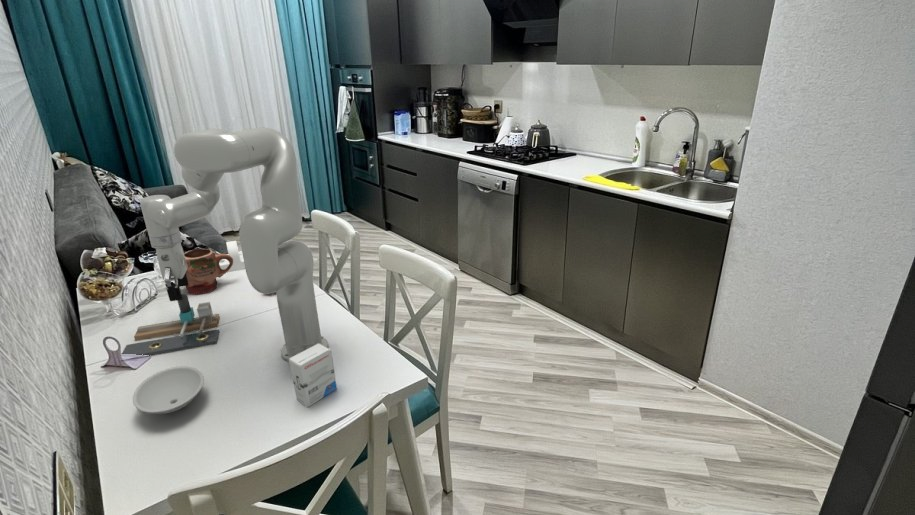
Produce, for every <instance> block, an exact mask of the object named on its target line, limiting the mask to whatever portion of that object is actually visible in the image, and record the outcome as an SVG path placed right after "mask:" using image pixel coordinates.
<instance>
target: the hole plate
mask: <svg viewBox="0 0 915 515" xmlns="http://www.w3.org/2000/svg"><path fill="white" fill-rule="evenodd" d="M202 333H203V335H202V336H201V335H200V332H195V333H188V334H183V337H184V339H181V336H180V335H176V336H171V337H163V338H159V339H154V340H147V341H142V342H135V343H131V344H126V346H125V347H124V348H123V351H122V352H121V354H136V355H142V354H143V355H149V356H148V357H152V356H157V354H158V355H163V354H169V353H174V352H179V351H180V352H181V351H185V350H191V349H196V348H202V347H207V346H213V345H217V344H218V340H219V336H220V333H221V332H220V329H219V328H218V329H211V330H207V331H202ZM162 353H163V354H162ZM150 355H151V356H150Z"/></svg>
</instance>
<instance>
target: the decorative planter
mask: <svg viewBox="0 0 915 515" xmlns="http://www.w3.org/2000/svg"><path fill="white" fill-rule="evenodd" d="M184 255H185V258H186V262H187V265H188V268H187V270H186V276H187V280H188V286H185V290H186V292H187V293H188V294H191V295H203V294H208V293H211V292H213V291H215V290H216V288H217V287H218V281H217V278H222V277H223V276H224V275H226V274H228V273H229V272H228V271H229V269H230V268H231V266H232V265H233V259H232V257H231V256H230V255H229V254H227V253H218V254H216V253H215V252H214V251H213V250H212V249H209V248H194V249H192V250H188V251H185V252H184ZM222 259H227V260H228V261H229V263H230V264H229V266H228V267H227V268H226V269H224V270H223V269H221V268H220V265H219V262H220V260H222ZM227 272H228V273H227Z"/></svg>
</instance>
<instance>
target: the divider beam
mask: <svg viewBox="0 0 915 515" xmlns="http://www.w3.org/2000/svg"><path fill="white" fill-rule="evenodd" d="M196 311H197V314H198V315H197V317H194V319H193V321H191V322H188V323H187V325H186V328H185V331H184V333H190V332H196V331H199V332H200V335H201V336H202V335H203V333H202V332H203V330H207V329H216V328H218V327H219V324H220V319H221V316H220V313H215V314H214V313H213V308H212V305H211V302H210V301H207V302H200V303H198V305H197V309H196ZM183 325H184V323H181V320H180V319H179V320H172V321H166V322H165V321H164V322H160V323H153V324H148V325H146V324H145V325H141V326H138V327H137V328H136V329H137V330H136V332H135V334H134V336H133V338H134V341H135V342H138V341H143V340H149V339H150V340H151V339H154V338H160V337H167V336H173V335H178V334H179V335H180V332H181V330H182V327H183ZM199 332H198V333H199ZM184 333H183V334H184Z"/></svg>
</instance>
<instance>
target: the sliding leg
mask: <svg viewBox="0 0 915 515" xmlns="http://www.w3.org/2000/svg"><path fill="white" fill-rule="evenodd" d="M181 294H182V300H177V305H178V307H179V311H180V312H179V314H178V317H179V320H181V323H184V325H183V327H182V330H181V332H180V333H179V336H181V339H184V337H183V335H184V331H185V328H186V325H187V323H188V322H191V321H193V319H194V318H195V311H194V307H192V306H191V304H190V300H189V297H188V294H186V293H181Z"/></svg>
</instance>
